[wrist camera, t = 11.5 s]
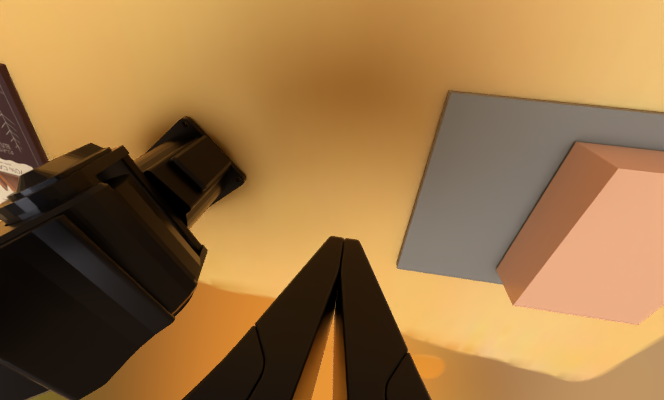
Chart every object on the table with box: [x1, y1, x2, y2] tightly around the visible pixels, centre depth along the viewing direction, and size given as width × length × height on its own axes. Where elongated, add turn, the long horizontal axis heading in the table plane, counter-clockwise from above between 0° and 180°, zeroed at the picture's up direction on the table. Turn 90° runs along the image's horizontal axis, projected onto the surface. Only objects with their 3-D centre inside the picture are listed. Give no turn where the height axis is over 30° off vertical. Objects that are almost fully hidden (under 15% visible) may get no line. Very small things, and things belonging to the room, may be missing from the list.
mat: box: [397, 91, 664, 284], centre depth 21 cm, size 19×16×1 cm
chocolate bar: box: [0, 63, 49, 220], centre depth 25 cm, size 9×1×18 cm
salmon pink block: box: [496, 142, 664, 325], centre depth 19 cm, size 4×12×9 cm
